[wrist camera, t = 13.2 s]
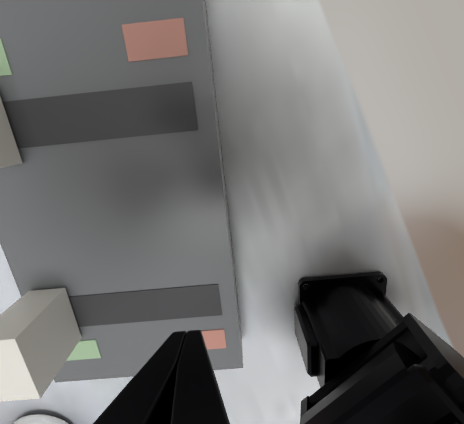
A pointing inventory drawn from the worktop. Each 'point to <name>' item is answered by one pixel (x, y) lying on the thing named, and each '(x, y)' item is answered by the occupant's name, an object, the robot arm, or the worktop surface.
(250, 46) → the worktop surface
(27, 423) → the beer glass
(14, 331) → the off-white block
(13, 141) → the off-white switch lever
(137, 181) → the switch panel
